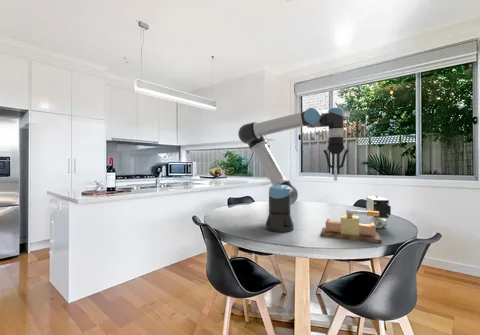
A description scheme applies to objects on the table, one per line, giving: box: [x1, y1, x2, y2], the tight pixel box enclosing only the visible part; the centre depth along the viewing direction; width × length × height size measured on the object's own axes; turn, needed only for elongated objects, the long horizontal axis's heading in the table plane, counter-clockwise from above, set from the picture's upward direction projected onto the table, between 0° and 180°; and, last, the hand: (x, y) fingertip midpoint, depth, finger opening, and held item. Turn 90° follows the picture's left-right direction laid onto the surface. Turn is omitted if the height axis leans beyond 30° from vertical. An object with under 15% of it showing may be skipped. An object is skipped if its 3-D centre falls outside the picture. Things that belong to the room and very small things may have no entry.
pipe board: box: [320, 227, 383, 244], centre depth 120 cm, size 26×12×2 cm, turn 67°
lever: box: [345, 209, 379, 217], centre depth 118 cm, size 14×3×2 cm, turn 67°
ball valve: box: [365, 194, 392, 229], centre depth 138 cm, size 18×8×18 cm, turn 168°
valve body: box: [325, 214, 377, 237], centre depth 120 cm, size 22×8×10 cm, turn 67°
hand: (335, 180), depth 134 cm, fingers closed
